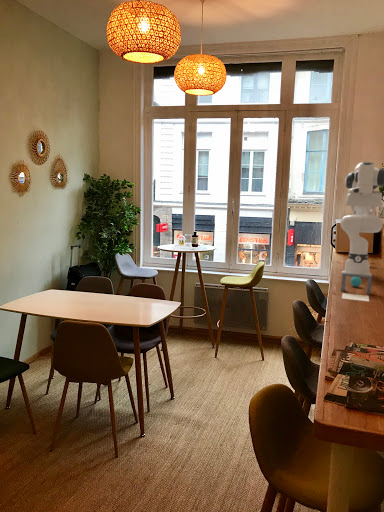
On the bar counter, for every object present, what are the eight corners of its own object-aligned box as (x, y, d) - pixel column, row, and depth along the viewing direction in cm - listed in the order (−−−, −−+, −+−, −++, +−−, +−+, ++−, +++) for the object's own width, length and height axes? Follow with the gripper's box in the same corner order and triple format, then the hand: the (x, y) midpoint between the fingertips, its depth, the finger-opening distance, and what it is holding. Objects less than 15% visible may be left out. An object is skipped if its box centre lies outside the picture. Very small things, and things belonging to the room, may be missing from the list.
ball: (350, 285, 268) (351, 274, 267) (361, 286, 266) (362, 276, 265) (349, 287, 262) (350, 276, 262) (361, 288, 260) (362, 277, 260)
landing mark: (342, 293, 244) (342, 293, 244) (368, 296, 240) (368, 295, 240) (341, 298, 232) (341, 298, 232) (369, 301, 228) (369, 301, 228)
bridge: (341, 290, 253) (342, 272, 252) (370, 293, 248) (372, 275, 247) (340, 291, 250) (342, 273, 249) (370, 294, 245) (372, 276, 244)
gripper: (380, 191, 270) (377, 214, 272) (345, 189, 270) (343, 213, 272) (384, 191, 264) (382, 215, 266) (349, 189, 264) (346, 213, 266)
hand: (362, 214), depth 269 cm, fingers open, 8 cm apart
